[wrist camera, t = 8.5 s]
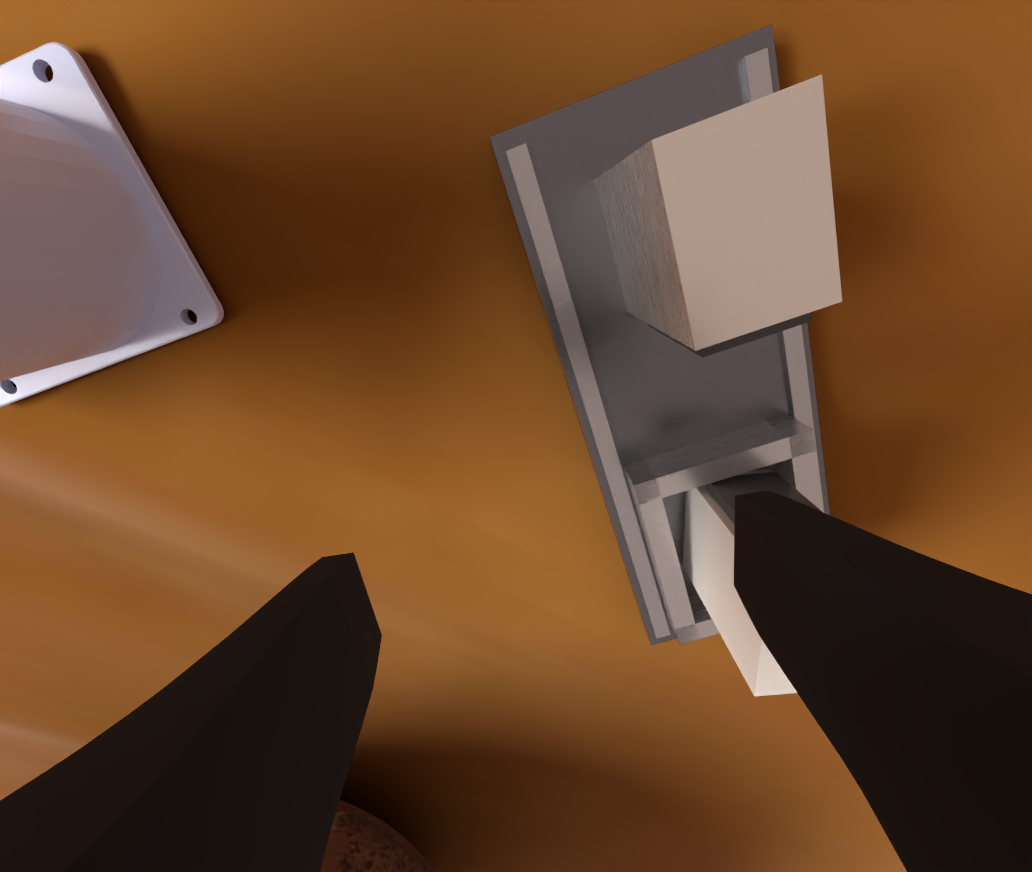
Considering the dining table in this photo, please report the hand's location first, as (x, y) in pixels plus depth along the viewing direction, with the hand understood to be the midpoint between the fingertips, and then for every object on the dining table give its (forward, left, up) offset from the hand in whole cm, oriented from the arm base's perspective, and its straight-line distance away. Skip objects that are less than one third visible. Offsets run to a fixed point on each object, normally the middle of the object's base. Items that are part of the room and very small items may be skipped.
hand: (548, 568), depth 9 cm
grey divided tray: (+6, -2, -9) cm, 11 cm away
